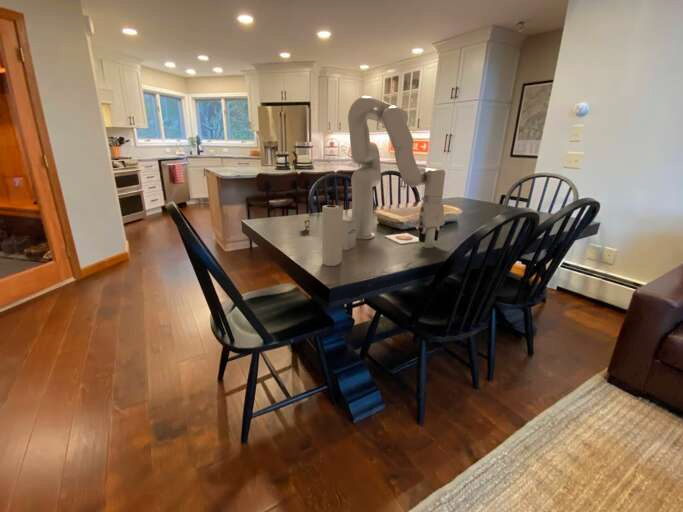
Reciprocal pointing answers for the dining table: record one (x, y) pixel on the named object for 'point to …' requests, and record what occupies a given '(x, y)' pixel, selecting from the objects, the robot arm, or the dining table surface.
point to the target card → (403, 238)
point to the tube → (429, 237)
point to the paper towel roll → (332, 235)
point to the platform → (307, 224)
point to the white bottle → (349, 233)
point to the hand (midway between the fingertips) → (428, 240)
